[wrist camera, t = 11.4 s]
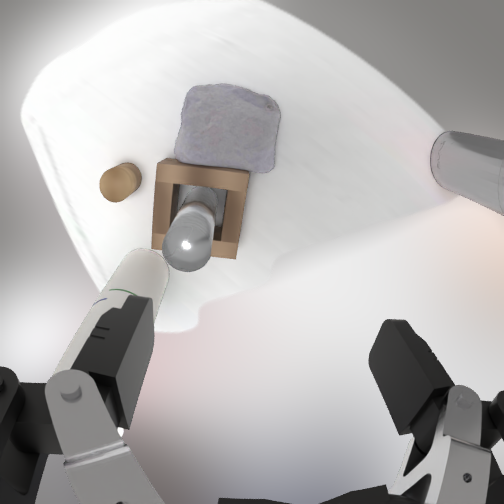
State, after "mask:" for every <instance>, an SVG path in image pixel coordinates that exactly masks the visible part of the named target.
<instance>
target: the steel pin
mask: <svg viewBox="0 0 504 504" xmlns="http://www.w3.org/2000/svg"><path fill="white" fill-rule="evenodd" d="M217 203H218V200H217V196H216V194H215V192H214V191H213V190H212V189H210V188H208V187H201V186H198V187H195V188H193V189H192V190H191V191H190V192H189V193H188V195H187V196H186V198H185V200H184V202H183V204H182V206H181V207H180V209H179V211H178V213H177V215H176V217H175V218H174V220H173V222H172V224H171V226H170V228H169V230H168V232H167V234H166V236H165V237H164V240H163V243H162V253H163V256H164V258H165V260H166V261H167V262H168V264H169V265H171V266H172V267H173V268H175V269H177V270H180V271H184V272H192V271H196V270H198V269H200V268H202V267H203V266H204V265H205V264H206V263H207V262H208V260H209V258H210V255H211V249H212V241H213V233H214V226H215V218H216V211H217Z"/></svg>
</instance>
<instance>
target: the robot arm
mask: <svg viewBox="0 0 504 504" xmlns="http://www.w3.org/2000/svg"><path fill="white" fill-rule="evenodd" d="M431 168H432V172H433V175H434V178H435V179H436V181H437V182H438V183H439V185H440V186H442V187H443V188H445V189H447V190H450V191H452V192H454V193H457V194H459V195H461V196H464V197H465V198H468V199H470V200H472V201H474V202H476V203H479V204H481V205H483V206H485V207H487V208H489V209H491V210H493V211H495V212H497V213H499V214H501V215H503V216H504V141H503V140H498V139H494V138H489V137H484V136H479V135H473V134H468V133H462V132H455V131H448V132H445V133H443V134H442V135H441V136H439V138H438V139H437V140H436V142H435V144H434V146H433V149H432V153H431ZM153 346H154V319H153V300H152V298H149V297H142V296H135V295H129V296H128V297H127V299H126V301H125V302H124V304H123V306H122V308H121V309H120V308H114V307H112V308H111V309H110V310H108V311H107V312H105V313H104V314H102V315H101V317H100V318H99V320H98V322H97V323H96V325H95V328H93V330H92V332H91V333H90V337H88V338H87V340H86V342H85V344H84V345H83V347H82V349H81V351H80V352H79V354H78V356H77V358H76V359H75V361H74V363H73V365H72V367H71V368H70V370H63V371H60V372H58V373H56V374H55V375H53V376H52V377H51V378H50V379H49V380H48V382H47V383H23V382H19V380H18V378H17V376H16V374H15V373H14V372H13V371H12V370H11V369H9V368H6V367H0V504H35V500H36V496H37V492H38V489H39V485H40V481H41V478H42V474H43V471H44V467H45V464H46V460H47V457H48V455H49V454H63V455H64V457H65V462H64V468H65V471H66V474H67V477H68V479H69V482H70V484H71V486H72V488H73V491H74V493H75V495H76V498H77V500H78V502H79V504H165V503H164V502H163V501H162V499H161V497H160V496H159V495H158V493H157V492H156V490H155V489H154V487H153V486H152V484H151V483H150V481H149V479H148V478H147V476H146V475H145V473H144V472H143V470H142V469H141V467H140V465H139V463H138V462H137V460H136V459H135V457H134V455H133V454H132V452H131V450H130V449H129V447H128V446H127V444H125V443H124V442H123V440H122V438H121V436H120V434H119V433H118V431H117V430H118V427H119V428H124V429H128V430H129V429H130V425H131V421H132V418H133V414H134V411H135V407H136V404H137V400H138V397H139V394H140V390H141V387H142V384H143V380H144V377H145V374H146V371H147V367H148V364H149V361H150V358H151V355H152V352H153ZM369 367H370V370H371V372H372V374H373V376H374V378H375V380H376V383H377V385H378V387H379V389H380V392H381V394H382V396H383V399H384V401H385V403H386V405H387V408H388V410H389V412H390V415H391V417H392V419H393V422H394V424H395V426H396V429H397V431H398V434H399V435H404V434H409V433H412V434H413V436H414V437H413V438H412V439H411V440H410V442H409V444H408V447H407V450H406V454H405V456H404V459H403V462H402V465H401V467H400V470H399V473H398V475H397V478H396V481H395V482H394V484H393V486H392V487H391V489H390V490H389V491H388V490H387V487H386V485H382V486H377V487H372V488H367V489H362V490H357V491H351V492H349V493H346V494H343V495H341V496H338V497H336V498H334V499H331V500H328V501H325V502H322V503H320V504H504V475H502V473H501V471H500V468H499V466H498V464H497V462H496V459H495V457H494V455H493V453H492V451H491V448H492V447H493V446H494V445H495V444H496V443H497V442H498V441H499V440H500V439H501V438H502V439H503V441H504V391H501V392H499V393H498V394H497V396H496V397H495V398H494V400H493V401H492V402H491V401H481V400H480V398H479V396H478V395H477V394H476V393H475V392H474V391H473V390H472V389H470V388H468V387H466V386H463V385H456V386H455V384H454V383H453V381H452V380H451V378H450V377H449V375H448V374H447V373H446V371H445V369H444V368H443V366H442V365H441V363H440V362H439V360H437V357H436V356H435V354H434V353H432V350H431V349H430V347H429V346H428V344H427V343H426V342H425V341H424V340H423V339H422V338H421V337H420V336H418V335H417V334H416V333H415V332H414V330H413V329H412V327H411V326H410V325H409V323H408V322H407V321H406V320H396V319H387V320H385V321H384V323H383V324H382V326H381V328H380V331H379V333H378V335H377V338H376V340H375V343H374V345H373V347H372V349H371V351H370V354H369ZM218 504H289V503H283V502H277V501H272V500H266V499H230V498H219V500H218Z"/></svg>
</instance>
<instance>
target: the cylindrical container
mask: <svg viewBox="0 0 504 504" xmlns="http://www.w3.org/2000/svg"><path fill="white" fill-rule="evenodd" d="M168 280H169V269H168V266H167V264H166V262H165V260H164V259H163V258H162V257H161V256H160V255H159V254H157V253H156V252H154V251H151V250H148V249H136V250H133V251H131V252H130V253H128V254H127V255H126V256H125V258H124V259H123V261H122V262H121V263H120V265H119V266H118V268H117V269H116V271H115V272H114V274H113V275H112V277H111V278H110V280H109V281H108V283H107V284H106V286H105V287H104V289H103V290H102V292H101V293H100V295H99V297H98V298H97V300H96V301H95V303H94V304H93V306H92V308H91V309H90V311H89V313H88V314H87V316H86V318H85V319H84V321H83V322H82V324H81V326H80V327H79V329H78V331H77V332H76V334H75V336H74V338H73V339H72V341H71V343H70V344H69V346H68V348H67V350H66V352H65V353H64V355H63V357H62V359H61V360H60V362H59V364H58V366H57V368H56V370H55V372H54V374H53V375H55V374H56V373H58V372H60V371H63V370H70V368H71V367H72V365H73V363H74V361H75V359H76V358H77V356H78V354H79V352H80V351H81V349H82V347H83V345H84V344H85V342H86V340H87V338H88V337H90V333H91V332H92V330H93V328H95V325H96V323H97V322H98V320H99V318H100V317H101V315H102V314H104V313H105V312H107V311H108V310H110V309H111V308H112V307H114V308H120V309H121V308H122V306H123V304H124V302H125V301H126V299H127V297H128V296H129V295H135V296H142V297H149V298H152V300H153V319H154V322H155V319H156V316H157V313H158V310H159V307H160V304H161V301H162V298H163V295H164V292H165V289H166V286H167V283H168ZM53 375H52V376H53ZM117 431H118V433H119V434H120V436H122V434H123V431H124V428H119V427H118V430H117Z"/></svg>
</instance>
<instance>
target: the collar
mask: <svg viewBox="0 0 504 504" xmlns="http://www.w3.org/2000/svg"><path fill="white" fill-rule="evenodd" d="M249 175H250V174H249V172H248V171H247V170H241V169H234V168H226V167H213V166H204V165H195V164H188V163H182V162H179V161H178V160H177V159H170V158H166V159H164V160H162V161H161V162H159V163H157V170H156V181H155V193H154V207H153V224H152V248H151V249H156V250H162V243H163V240H164V237H165V236H166V234H167V232H168V230H169V228H170V226H171V224H172V222H173V220H174V218H175V217H176V215H177V204H178V193H179V184H184V185H193V186H201V187H210V188H218V189H225V190H227V194H226V201H225V208H224V215H223V222H222V227H219V226H214V233H213V241H212V249H211V255H210V256H212V257H221V258H229V259H236V255H237V249H238V242H239V236H240V230H241V224H242V217H243V211H244V205H245V199H246V193H247V187H248V181H249Z"/></svg>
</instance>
